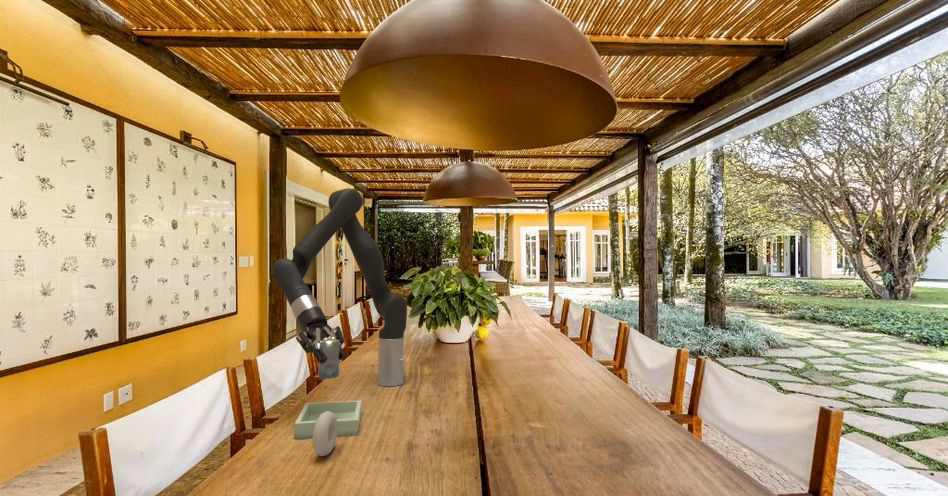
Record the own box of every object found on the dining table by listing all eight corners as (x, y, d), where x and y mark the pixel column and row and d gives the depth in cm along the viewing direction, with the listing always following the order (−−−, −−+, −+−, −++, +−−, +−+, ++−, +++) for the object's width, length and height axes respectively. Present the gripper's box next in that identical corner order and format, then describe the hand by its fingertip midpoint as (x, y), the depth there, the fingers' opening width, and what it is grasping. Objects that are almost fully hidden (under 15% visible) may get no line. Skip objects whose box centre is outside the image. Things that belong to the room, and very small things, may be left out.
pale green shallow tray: (361, 413, 132) (361, 400, 132) (357, 435, 116) (358, 419, 116) (305, 416, 129) (305, 402, 129) (294, 439, 113) (294, 423, 113)
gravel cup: (340, 372, 127) (340, 335, 127) (337, 378, 121) (338, 338, 121) (319, 373, 126) (320, 335, 126) (316, 379, 120) (317, 339, 120)
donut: (325, 444, 110) (326, 405, 110) (339, 445, 110) (340, 405, 110) (309, 463, 100) (310, 419, 100) (324, 464, 100) (325, 420, 100)
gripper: (292, 307, 122) (317, 356, 115) (334, 303, 134) (359, 348, 127) (280, 324, 125) (304, 373, 118) (323, 319, 137) (347, 363, 130)
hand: (333, 360), depth 123 cm, fingers closed on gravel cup, 5 cm apart
